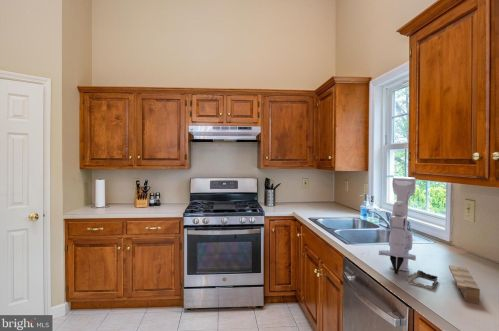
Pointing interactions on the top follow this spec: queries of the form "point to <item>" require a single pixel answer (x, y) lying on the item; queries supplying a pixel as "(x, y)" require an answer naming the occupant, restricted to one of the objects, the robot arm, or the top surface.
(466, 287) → the brown ridged block
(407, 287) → the top surface
